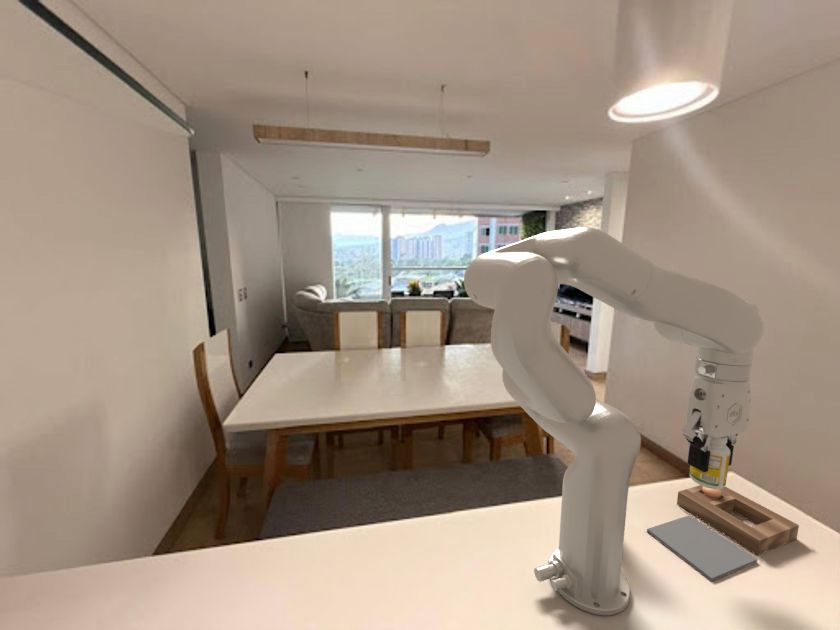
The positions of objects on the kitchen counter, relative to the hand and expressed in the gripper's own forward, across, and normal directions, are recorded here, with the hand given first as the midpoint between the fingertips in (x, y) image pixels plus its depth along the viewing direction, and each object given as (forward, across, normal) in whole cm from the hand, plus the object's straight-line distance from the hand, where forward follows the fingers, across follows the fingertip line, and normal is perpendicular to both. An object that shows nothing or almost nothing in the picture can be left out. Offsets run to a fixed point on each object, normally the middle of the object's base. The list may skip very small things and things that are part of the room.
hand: (709, 463), depth 66 cm
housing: (+17, +14, +3) cm, 22 cm away
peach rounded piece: (+17, +14, +7) cm, 23 cm away
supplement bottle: (+4, 0, 0) cm, 4 cm away
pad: (+17, 0, 0) cm, 17 cm away
